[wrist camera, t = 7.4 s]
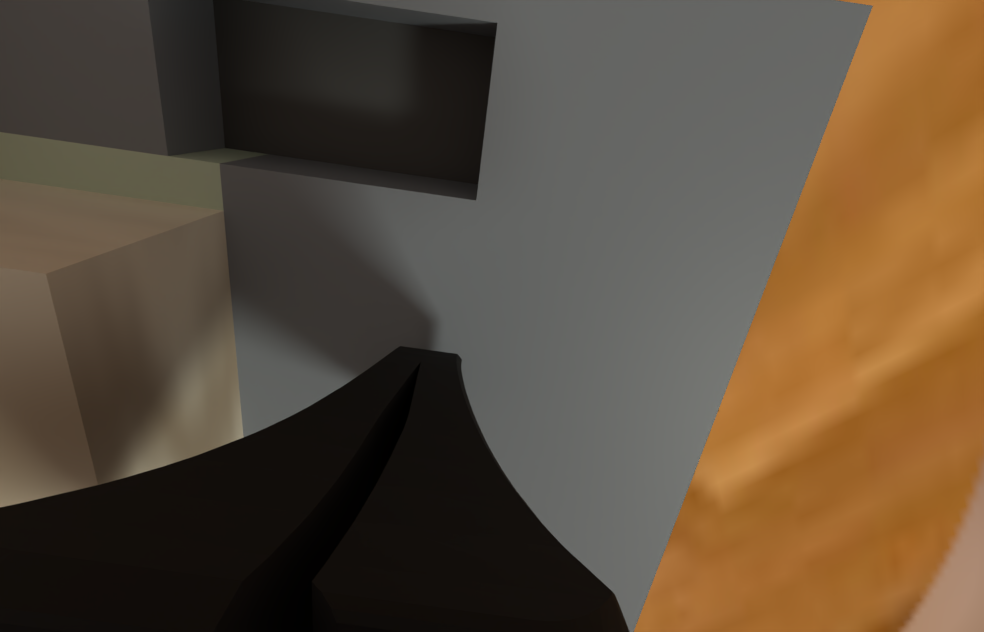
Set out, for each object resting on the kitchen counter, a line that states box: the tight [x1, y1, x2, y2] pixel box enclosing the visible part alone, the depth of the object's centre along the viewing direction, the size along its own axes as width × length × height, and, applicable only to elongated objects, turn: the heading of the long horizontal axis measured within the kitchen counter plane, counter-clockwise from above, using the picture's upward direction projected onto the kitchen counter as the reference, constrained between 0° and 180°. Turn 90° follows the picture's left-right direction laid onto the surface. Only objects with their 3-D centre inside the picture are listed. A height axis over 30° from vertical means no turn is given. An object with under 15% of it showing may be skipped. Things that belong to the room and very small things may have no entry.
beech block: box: [0, 179, 243, 507], centre depth 9 cm, size 6×6×4 cm
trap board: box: [0, 0, 872, 632], centre depth 11 cm, size 16×18×4 cm
